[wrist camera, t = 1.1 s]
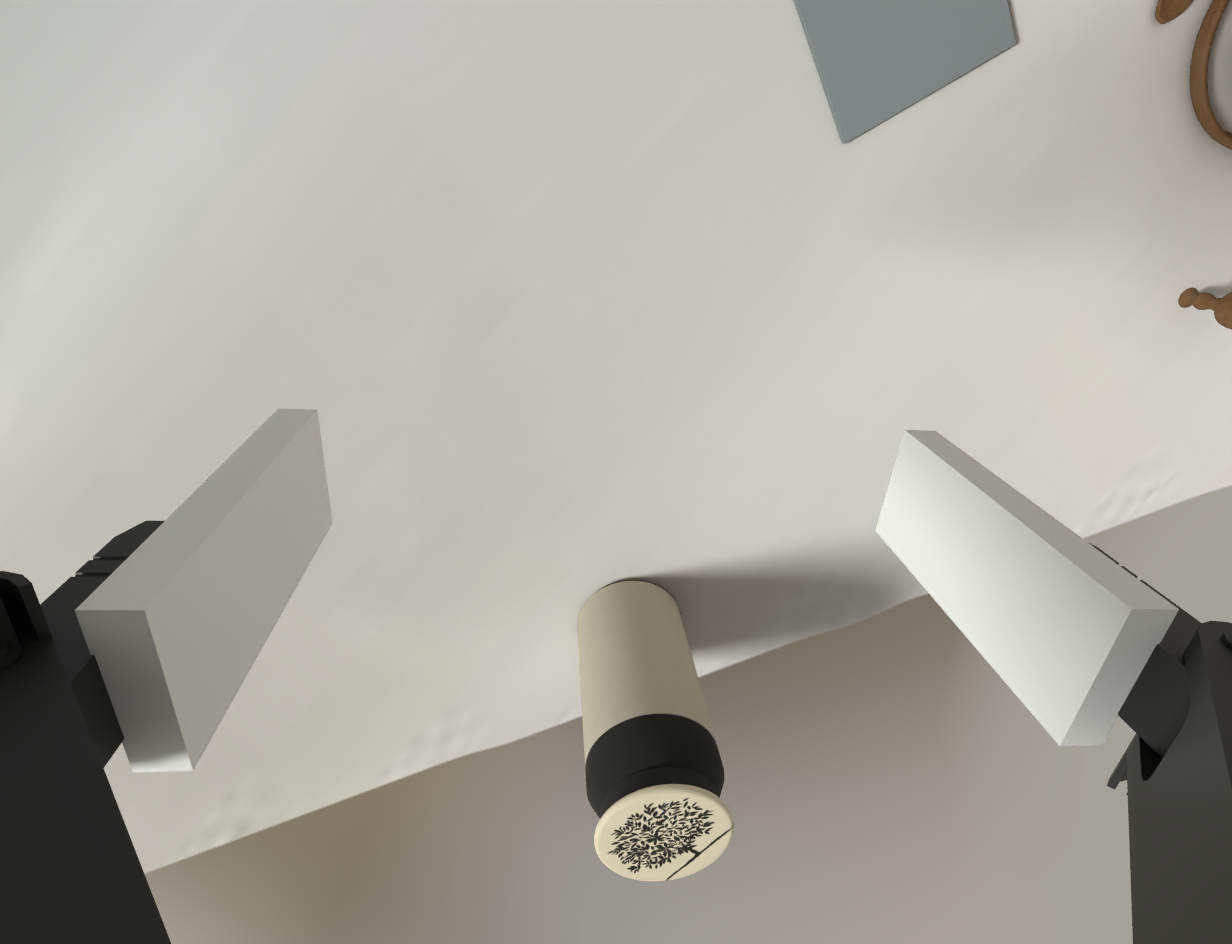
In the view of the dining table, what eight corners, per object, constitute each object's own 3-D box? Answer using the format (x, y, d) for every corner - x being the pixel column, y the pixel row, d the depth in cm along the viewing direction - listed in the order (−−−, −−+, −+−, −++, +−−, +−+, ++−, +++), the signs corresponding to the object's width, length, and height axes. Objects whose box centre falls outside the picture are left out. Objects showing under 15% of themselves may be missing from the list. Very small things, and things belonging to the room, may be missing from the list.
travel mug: (555, 621, 50) (558, 844, 34) (633, 559, 48) (675, 764, 32) (623, 675, 53) (655, 903, 37) (699, 619, 51) (768, 834, 35)
